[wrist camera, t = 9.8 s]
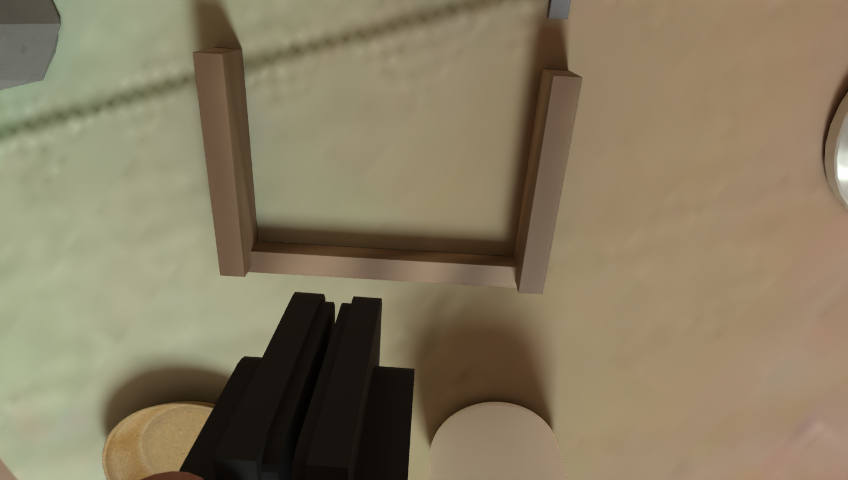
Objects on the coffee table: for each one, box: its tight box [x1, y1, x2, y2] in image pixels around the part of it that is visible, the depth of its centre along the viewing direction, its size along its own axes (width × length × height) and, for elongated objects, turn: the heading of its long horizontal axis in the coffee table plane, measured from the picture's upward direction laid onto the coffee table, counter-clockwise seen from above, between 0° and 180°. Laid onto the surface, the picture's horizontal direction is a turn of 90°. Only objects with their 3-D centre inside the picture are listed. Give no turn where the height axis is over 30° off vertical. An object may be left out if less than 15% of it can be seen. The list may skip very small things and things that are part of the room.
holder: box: [193, 47, 582, 294], centre depth 30 cm, size 20×14×3 cm
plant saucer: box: [102, 401, 215, 480], centre depth 41 cm, size 15×15×3 cm
